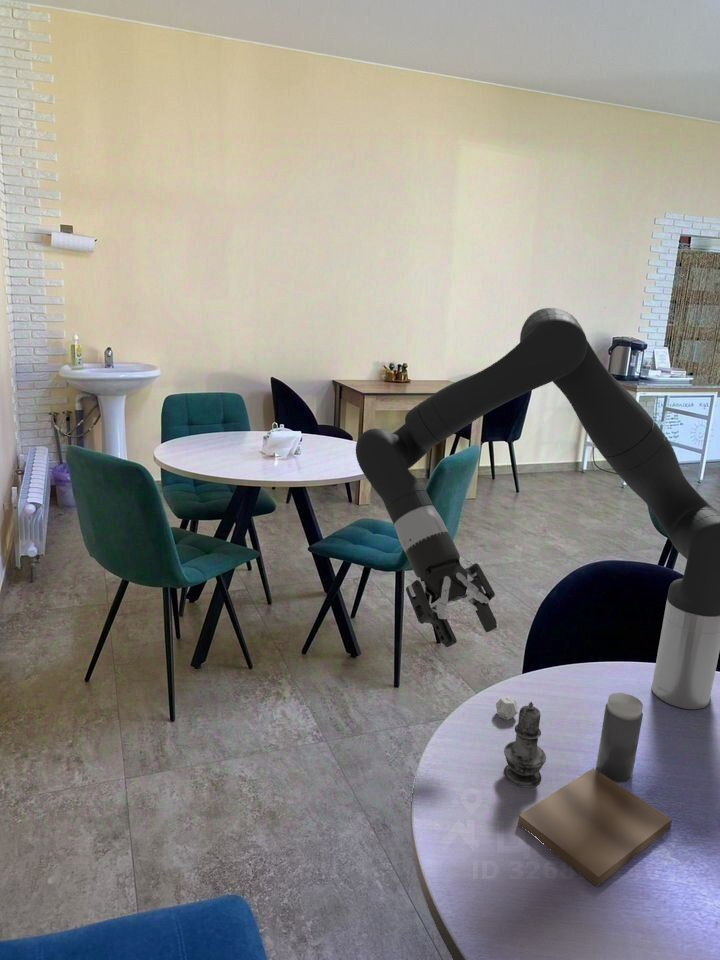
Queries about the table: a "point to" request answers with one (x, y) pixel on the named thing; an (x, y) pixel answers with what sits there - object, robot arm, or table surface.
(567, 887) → the table surface
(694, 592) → the robot arm
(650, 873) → the table surface
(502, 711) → the game die
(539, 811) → the walnut board
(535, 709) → the grey chess piece
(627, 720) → the grey cylinder
